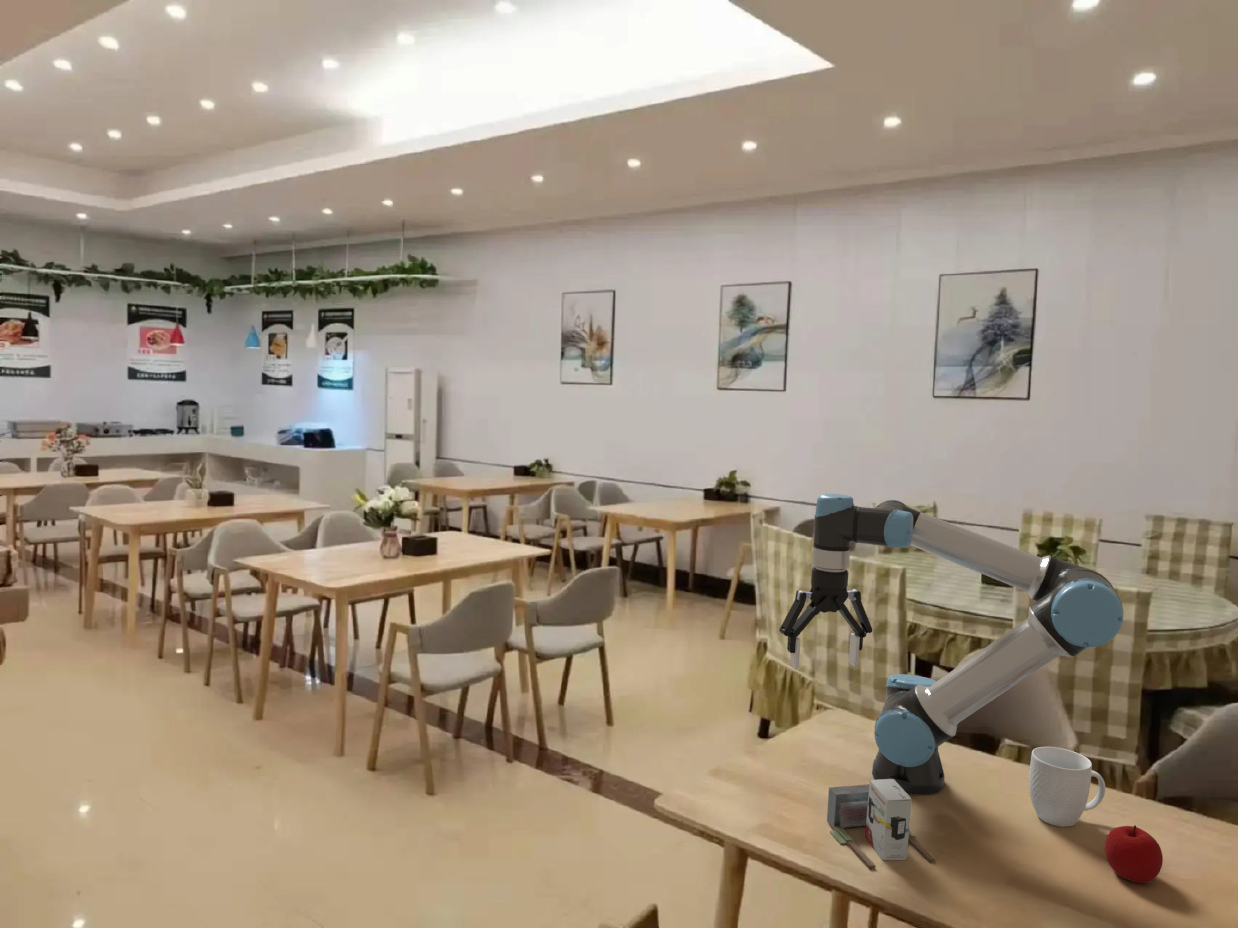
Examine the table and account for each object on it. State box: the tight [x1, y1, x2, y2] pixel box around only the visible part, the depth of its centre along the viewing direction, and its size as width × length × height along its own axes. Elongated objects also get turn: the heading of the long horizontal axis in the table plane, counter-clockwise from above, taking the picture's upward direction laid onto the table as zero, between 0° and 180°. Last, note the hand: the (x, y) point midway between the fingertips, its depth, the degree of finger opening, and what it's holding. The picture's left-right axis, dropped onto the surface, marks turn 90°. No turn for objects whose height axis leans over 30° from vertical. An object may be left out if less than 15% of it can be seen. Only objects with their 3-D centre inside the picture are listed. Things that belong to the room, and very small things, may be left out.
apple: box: [1104, 825, 1164, 884], centre depth 157 cm, size 9×9×10 cm
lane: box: [829, 826, 937, 870], centre depth 165 cm, size 16×14×1 cm
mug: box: [1028, 746, 1106, 828], centre depth 177 cm, size 15×11×13 cm
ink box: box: [864, 779, 913, 861], centre depth 163 cm, size 9×5×12 cm, turn 7°
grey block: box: [826, 783, 870, 829], centre depth 172 cm, size 13×4×7 cm, turn 103°
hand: (823, 666), depth 185 cm, fingers open, 13 cm apart
